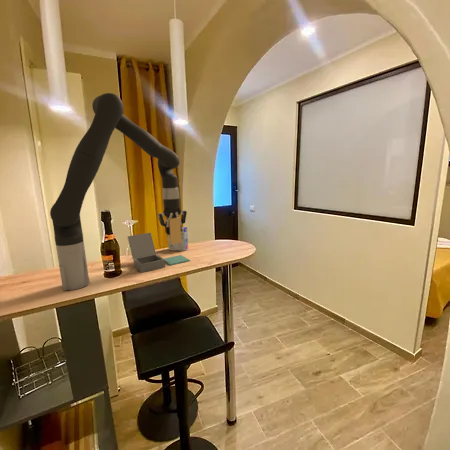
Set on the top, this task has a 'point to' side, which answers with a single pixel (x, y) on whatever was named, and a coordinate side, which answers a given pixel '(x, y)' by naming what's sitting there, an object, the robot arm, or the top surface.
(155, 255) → the case
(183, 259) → the mat
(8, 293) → the top surface
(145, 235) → the lid
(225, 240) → the top surface
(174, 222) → the block
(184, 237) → the ink cartridge box
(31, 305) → the top surface
